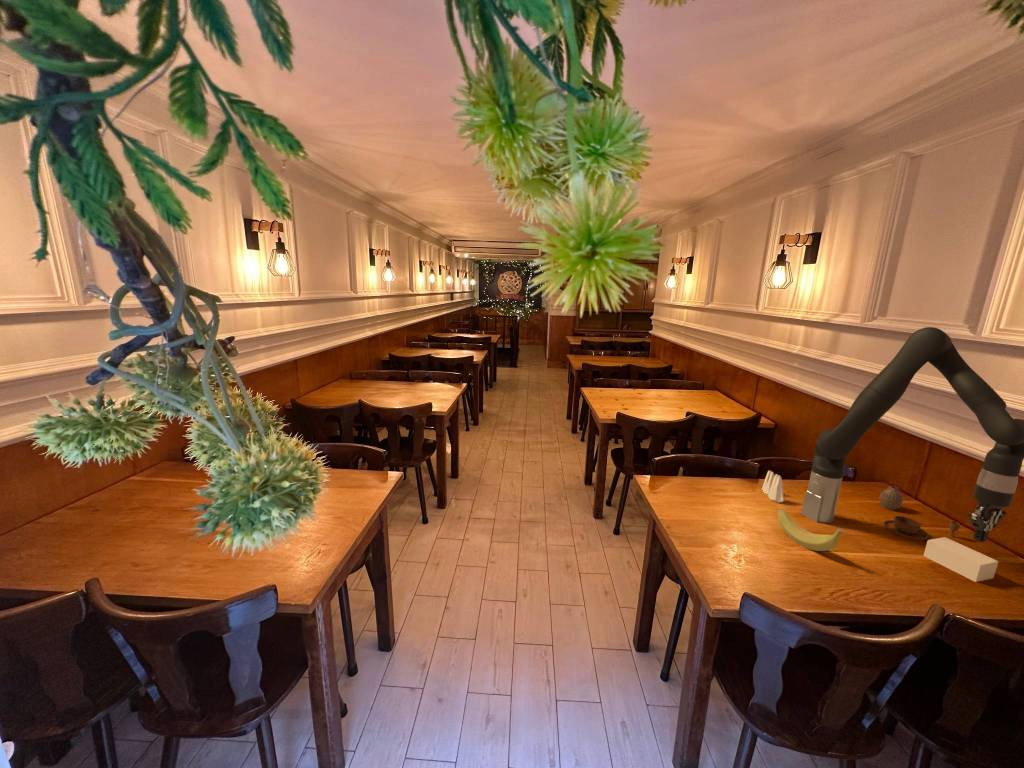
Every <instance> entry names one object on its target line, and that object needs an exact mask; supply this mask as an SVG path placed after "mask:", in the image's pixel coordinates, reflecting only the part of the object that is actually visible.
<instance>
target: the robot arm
mask: <svg viewBox="0 0 1024 768" xmlns="http://www.w3.org/2000/svg"><path fill="white" fill-rule="evenodd" d="M927 363H929V364H930V365H932V366H933V367H934V368H935V369H937V371H938V372H940V373H941V374H942V376H943V377H944V378H945V379H946V381H947V382H948V383H949V385H950V386H951V388H952V389H953V390H954V392H955V393H956V394H957V396H958V397H959V398H960V399H961V401H962V402H963V403H964V404H965V405H966V406H967V407H968V408H969V409H970V410H971V412H972V413H974V415H975V416H976V418H977V421H978V423H979V424H980V425H981V428H982V429H983V431H984V432H985V434H986V435H987V436H988V437H989V438H990V439H991V440H992V441H994V442H995V443H994V446H993V448H992V449H990V450H989V451H987V453H986V454H985V457H984V461H983V464H982V467H981V469H980V471H979V474H978V477H977V480H976V484H975V487H974V490H973V494H972V496H973V498H974V499H975V500H977V501H978V503H977V504H976V506H975V510H974V512H973V511H969V512H968V518H969V521H970V525H971V526H972V527H973V528H975V531H974V533H973V539H974V540H975V541H977V542H979V543H985V542H987V540H988V536H989V532H991V531H992V529H996V528H997V527H998V525H999V524H1000V522H1002V520H1003V519H1004V518H1005V516H1006V515H1007V511H1005V510H1003V508H1008V507H1011V506H1012V503H1013V500H1014V497H1015V493H1016V490H1017V487H1018V483H1019V482H1018V481H1019V476H1020V472H1021V469H1022V466H1023V462H1024V419H1022V418H1013V417H1012V416H1011V414H1010V413H1009V411H1007V410H1006V408H1007V402H1006V401H1005V400H1004V399H1003V398H1002V397H1001V396H1000V395H999V394H998V393H997V391H996V390H994V388H993V387H991V385H989V384H988V383H987V381H985V380H984V379H983V378H982V377H981V376H980V375H979V374H978V373H976V372H975V371H974V369H973V368H971V367H970V365H968V363H967V362H966V361H965V360H964V358H963V357H962V356H961V354H960V353H959V351H958V350H957V347H955V345H954V343H953V341H952V338H951V336H949V335H948V333H946V332H945V331H943V330H942V329H940V328H937V327H932V326H927V327H923V328H919V329H918V330H915V331H914V332H913V333H912V334H910V335H909V337H908V338H907V340H906V341H905V343H904V344H903V345H902V347H901V348H900V349H899V351H898V352H897V353H896V355H895V356H894V357H893V359H892V360H891V361H890V362H889V363H888V364H887V365H886V366H885V367H884V368H883V369H882V370H881V371H879V373H878V374H877V375H876V376H875V377H874V378H873V379H872V380H871V381H870V382H868V384H867V385H866V386H865V387H864V389H862V391H860V393H859V394H858V395H857V396H856V397H855V399H854V401H853V402H852V404H851V406H850V407H849V410H848V411H847V413H846V415H845V416H844V418H843V419H842V420H841V422H839V423H838V425H836V427H835V428H830V429H829V428H828V429H825V430H823V431H822V432H821V431H820V433H819V434H818V436H817V438H816V443H815V445H814V446H815V447H814V453H813V457H812V465H811V472H810V476H809V477H810V478H809V481H808V487H807V490H806V491H805V493H804V497H803V503H802V509H801V513H800V514H801V515H803V516H804V517H806V518H808V519H810V520H812V521H814V522H815V523H823V524H831V523H833V522H834V517H835V514H836V509H837V505H838V500H839V496H840V492H841V487H842V481H843V479H844V474H845V462H846V461H845V460H846V457H847V456H848V455H849V454H850V453H851V451H852V450H853V449H854V448H855V446H856V445H857V443H858V442H859V441H860V439H862V437H863V436H864V435H865V433H867V431H868V430H870V429H871V428H872V427H873V426H874V425H875V424H876V423H877V422H879V420H880V419H881V418H882V417H884V416H885V414H886V413H887V412H889V410H891V408H893V406H894V405H895V404H896V403H897V402H898V401H899V400H900V399H901V398H902V396H903V395H904V394H905V392H906V391H907V388H909V385H910V383H911V382H912V380H913V378H914V377H915V375H916V374H917V373H918V372H919V370H921V369H922V367H924V366H925V365H926V364H927Z"/></svg>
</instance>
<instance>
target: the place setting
mask: <svg viewBox="0 0 1024 768" xmlns="http://www.w3.org/2000/svg"><path fill="white" fill-rule="evenodd" d="M886 524H893V527H894V528H895V529H896V530H898V531H899V532H897V531H896V530H894V529H891V528H890V527H889V526H888V525H886ZM883 526H884V528H885V529H886V530H888V531H889V532H891V533H893V534H895V535H898V536H900V537H902V538H907V539H909V540H914V539H915V541H926V540H927V539H929V533H928V532H927V531H926V530H924V529H923V528H921V526H922V524H921V522H920V521H918V520H915V519H913V518H910V517H907V516H903V515H896V516H894V518H893V519H887V520H884V521H883ZM948 526H949V527H948V528H949V530H950V533H949V537H951V536H953V537H954V536H955V532H958V531H959V530H960V526H961V524H960V523H959V522H957V521H953V520H951V521H950V522H949V525H948ZM920 531H921V532H920ZM919 532H920V533H921V534H923V533H924V534H925V535H926V536H925V535H924V534H923V535H924V536H925V537H916V536H910V535H913V534H914V535H915V534H917V533H919ZM903 533H904V534H903ZM919 545H922V543H921V542H919Z"/></svg>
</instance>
